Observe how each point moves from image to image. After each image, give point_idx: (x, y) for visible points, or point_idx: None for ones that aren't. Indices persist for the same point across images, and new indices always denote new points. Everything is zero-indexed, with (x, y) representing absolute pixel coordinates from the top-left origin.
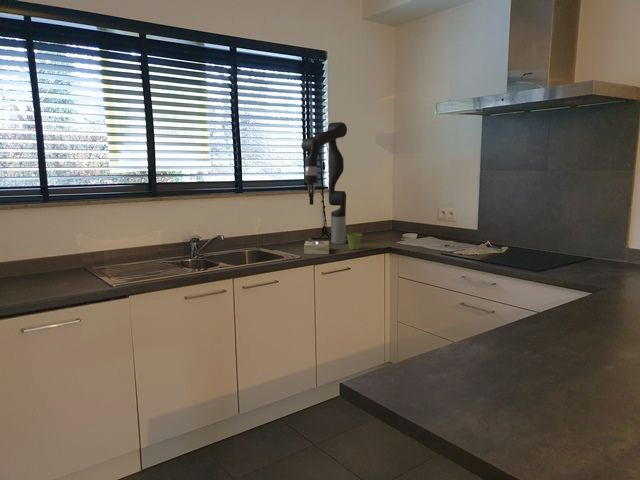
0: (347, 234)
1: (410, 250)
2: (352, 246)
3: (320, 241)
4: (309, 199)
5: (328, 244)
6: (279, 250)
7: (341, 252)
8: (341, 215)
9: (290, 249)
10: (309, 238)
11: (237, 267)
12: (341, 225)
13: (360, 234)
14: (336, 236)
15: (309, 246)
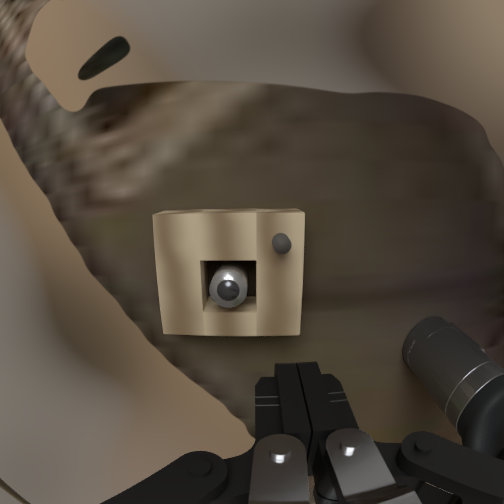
0: None
1: None
2: None
3: (225, 300)
4: (281, 417)
5: (189, 332)
6: (269, 85)
7: (214, 362)
8: (459, 430)
9: (295, 134)
10: (275, 240)
11: (6, 51)
12: (437, 400)
13: None
14: (419, 354)
15: (156, 241)
